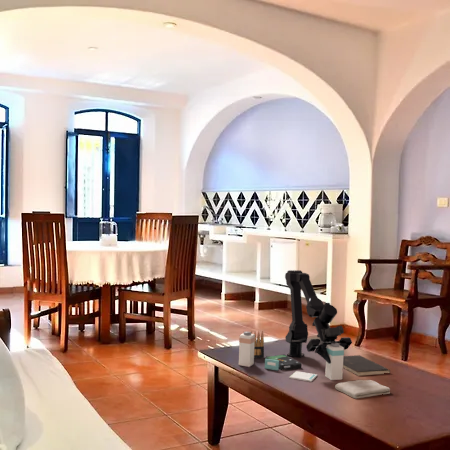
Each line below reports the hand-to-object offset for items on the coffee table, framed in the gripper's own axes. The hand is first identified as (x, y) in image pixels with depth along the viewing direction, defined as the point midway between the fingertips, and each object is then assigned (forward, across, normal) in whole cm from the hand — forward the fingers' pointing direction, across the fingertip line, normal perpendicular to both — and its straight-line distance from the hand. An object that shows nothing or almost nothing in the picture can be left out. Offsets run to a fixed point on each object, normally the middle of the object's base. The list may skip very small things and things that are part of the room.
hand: (336, 362), depth 227 cm
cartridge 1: (-14, -28, +24) cm, 40 cm away
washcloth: (+16, +2, -6) cm, 18 cm away
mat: (+1, -12, +8) cm, 14 cm away
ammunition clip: (-21, -21, +31) cm, 43 cm away
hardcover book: (-4, +20, +14) cm, 25 cm away
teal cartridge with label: (-8, -20, +17) cm, 28 cm away
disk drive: (-12, -12, +22) cm, 28 cm away
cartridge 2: (+4, 0, +6) cm, 7 cm away
